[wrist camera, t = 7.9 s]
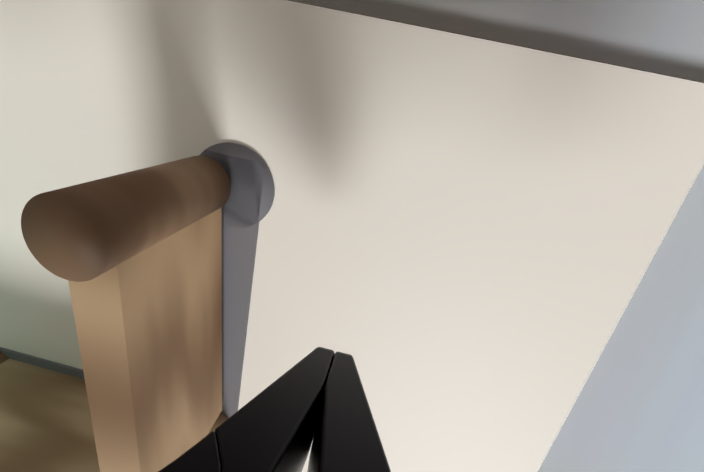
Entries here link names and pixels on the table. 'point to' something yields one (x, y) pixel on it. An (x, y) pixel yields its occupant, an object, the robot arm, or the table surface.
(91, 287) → the fence gate
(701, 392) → the table surface
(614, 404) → the table surface
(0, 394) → the fence fixed
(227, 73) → the board
